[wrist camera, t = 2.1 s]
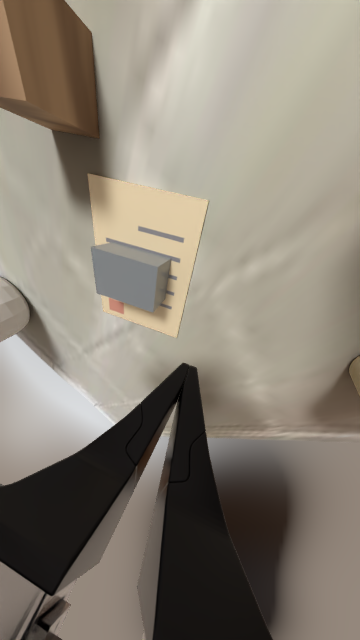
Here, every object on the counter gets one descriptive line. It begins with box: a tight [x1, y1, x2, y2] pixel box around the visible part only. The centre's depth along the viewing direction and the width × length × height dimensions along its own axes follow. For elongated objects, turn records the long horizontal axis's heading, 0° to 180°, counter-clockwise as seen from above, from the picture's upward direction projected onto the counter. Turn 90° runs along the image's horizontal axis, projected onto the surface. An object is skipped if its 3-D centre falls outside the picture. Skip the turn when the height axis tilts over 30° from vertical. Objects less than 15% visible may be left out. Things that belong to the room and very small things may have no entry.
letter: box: [87, 173, 209, 338], centre depth 19 cm, size 12×16×1 cm
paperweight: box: [91, 242, 171, 313], centre depth 18 cm, size 7×5×4 cm
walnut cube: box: [0, 0, 99, 138], centre depth 11 cm, size 5×5×6 cm
